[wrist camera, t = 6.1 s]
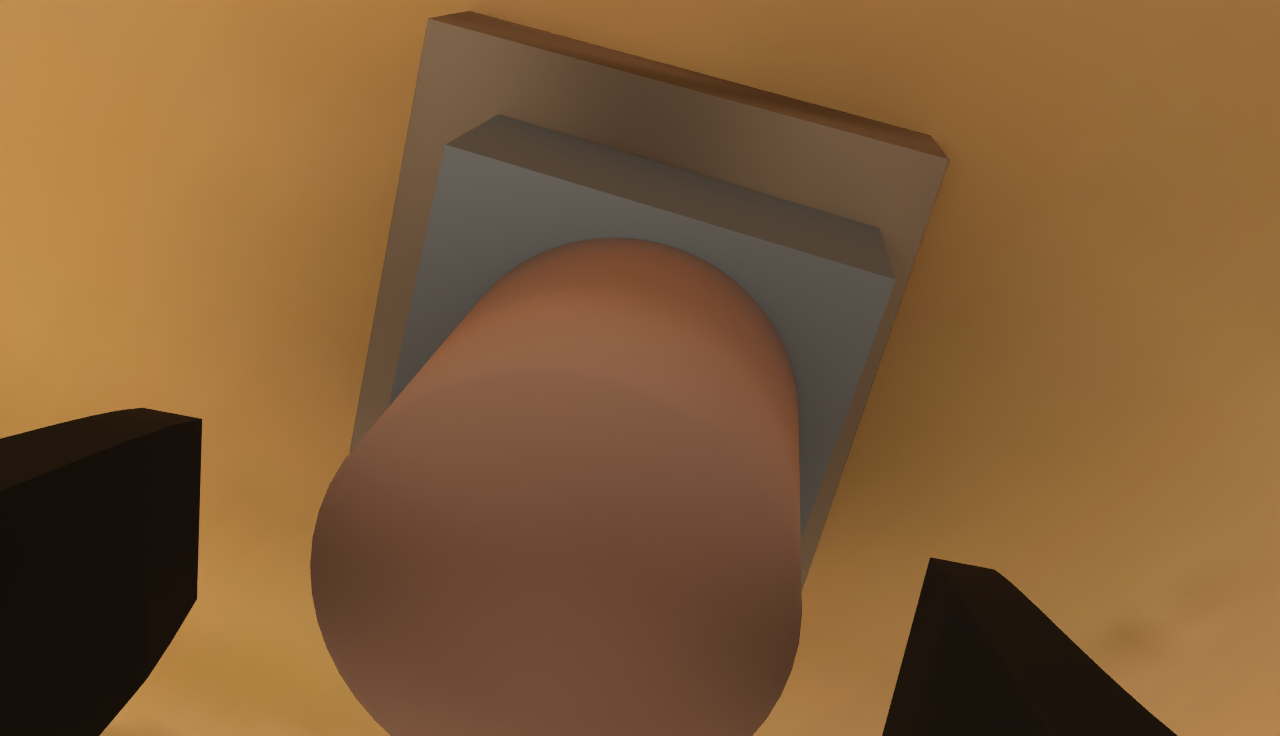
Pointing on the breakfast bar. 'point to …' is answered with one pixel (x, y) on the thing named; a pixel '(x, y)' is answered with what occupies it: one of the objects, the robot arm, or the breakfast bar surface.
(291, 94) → the breakfast bar surface
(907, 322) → the breakfast bar surface
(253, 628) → the breakfast bar surface
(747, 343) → the salmon cylinder
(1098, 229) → the breakfast bar surface
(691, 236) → the charcoal block
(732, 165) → the walnut slab
